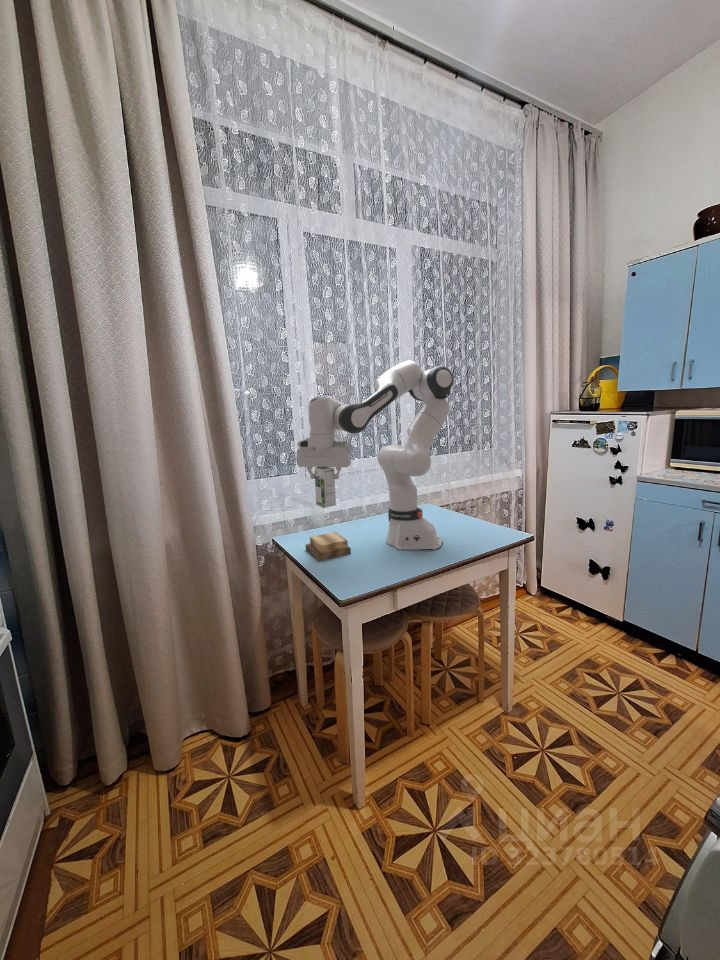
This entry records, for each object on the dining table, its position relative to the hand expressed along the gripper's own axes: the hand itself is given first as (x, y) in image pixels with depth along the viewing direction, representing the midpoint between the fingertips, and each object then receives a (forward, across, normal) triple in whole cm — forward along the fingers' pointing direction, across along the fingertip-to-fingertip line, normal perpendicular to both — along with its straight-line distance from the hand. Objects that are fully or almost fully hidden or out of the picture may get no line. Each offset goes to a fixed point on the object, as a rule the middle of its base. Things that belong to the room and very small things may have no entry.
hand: (324, 478), depth 145 cm
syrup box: (+10, 0, 0) cm, 11 cm away
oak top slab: (+27, 0, 0) cm, 27 cm away
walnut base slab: (+30, 0, 0) cm, 30 cm away
